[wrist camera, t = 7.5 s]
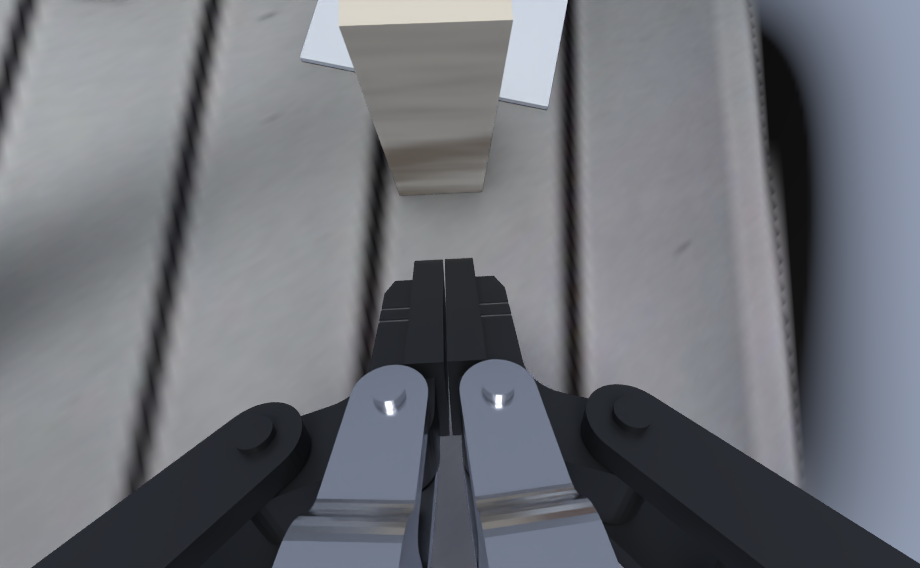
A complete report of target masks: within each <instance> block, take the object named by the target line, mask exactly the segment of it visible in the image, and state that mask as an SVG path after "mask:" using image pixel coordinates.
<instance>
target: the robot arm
mask: <svg viewBox="0 0 920 568" xmlns="http://www.w3.org/2000/svg"><path fill="white" fill-rule="evenodd" d="M445 283H446V300H445V285H444V271H443V260H423V261H415V262H414V272H413V280H405V281H395V282H394V283H393V284H392V286H391V287H390V288H389V289H388V290H387V291H386V293H385V295H384V300H383V305H382V311H381V315H380V319H379V321H380V323H379V324H378V329H377V334H376V339H375V344H374V349H373V354H372V359H371V364H370V369H369V373H368V374H366V375H365V376H364V377H362V378H361V379H360V380H359V381H358V382H357V384H356V385H355V387H354V388H353V390H352V393H351V395H350V397H348V398H347V399H345V400H343V401H341V402H340V403H337V404H335V405H332V406H330V407H327V408H324V409H321V410H318V411H315V412H312V413H309V414H306V415H303V416H300V414H299V412H298V411H297V410H296V409H295V408H294V407H292V406H290V405H288V404H285V403H279V402H271V403H264V404H261V405H257V406H255V407H252V408H250V409H248V410H246V411H244V412H242V413H240V414H239V415H237V416H236V417H234V418H233V419H232V420H230V421H229V422H228V423H226V424H225V425H224V426H222V427H221V428H220V429H218V430H217V431H215V432H214V433H213V434H211V435H210V436H209V437H207V438H206V439H205V440H203V441H202V442H201V443H199V444H198V445H197V446H195V447H194V448H192V449H191V450H190V451H188V452H187V453H186V454H184V455H183V456H182V457H180V458H179V459H178V460H176V461H175V462H174V463H172V464H171V465H169V466H168V467H167V468H165V469H164V470H163V471H161V472H160V473H159V474H157V475H156V476H155V477H153V478H152V479H151V480H149V481H148V482H146V483H145V484H144V485H142V486H141V487H140V488H138V489H137V490H136V491H134V492H133V493H132V494H130V495H129V496H128V497H126V498H125V499H123V500H122V501H121V502H119V503H118V504H117V505H115V506H114V507H113V508H111V509H110V510H109V511H107V512H106V513H105V514H103V515H102V516H100V517H99V518H98V519H96V520H95V521H94V522H92V523H91V524H90V525H88V526H87V527H86V528H84V529H83V530H82V531H80V532H79V533H77V534H76V535H75V536H73V537H72V538H71V539H69V540H68V541H67V542H65V543H64V544H63V545H61V546H60V547H59V548H57V549H56V550H55V551H53V552H52V553H50V554H49V555H48V556H46V557H45V558H44V559H42V560H41V561H40V562H38V563H37V564H36V565H34V566H33V567H32V568H431V560H432V547H433V534H434V521H435V508H436V495H437V483H438V467H439V461H440V436H450V432H449V391H450V405H451V419H452V433H453V435H461V436H462V454H463V473H464V481H465V489H466V496H467V504H468V512H469V520H470V527H471V535H472V543H473V550H474V558H475V566H476V568H620V566H619V563H620V564H621V565H622V566H623V567H624V568H920V564H919V563H918V562H916V561H914V560H913V559H911V558H909V557H908V556H906V555H905V554H903V553H902V552H900V551H898V550H897V549H895V548H894V547H892V546H891V545H889V544H887V543H886V542H884V541H883V540H881V539H879V538H878V537H876V536H875V535H873V534H871V533H870V532H868V531H867V530H865V529H864V528H862V527H860V526H859V525H857V524H855V523H854V522H852V521H851V520H849V519H847V518H846V517H844V516H843V515H841V514H840V513H838V512H836V511H835V510H833V509H832V508H830V507H829V506H826V505H825V504H824V503H822V502H821V501H819V500H817V499H816V498H814V497H813V496H811V495H809V494H808V493H806V492H805V491H803V490H801V489H800V488H798V487H797V486H795V485H794V484H792V483H790V482H789V481H787V480H786V479H784V478H782V477H781V476H779V475H778V474H776V473H774V472H773V471H771V470H770V469H768V468H766V467H765V466H763V465H762V464H760V463H759V462H757V461H755V460H754V459H752V458H751V457H749V456H747V455H746V454H744V453H743V452H741V451H739V450H738V449H736V448H735V447H733V446H731V445H730V444H728V443H727V442H725V441H724V440H722V439H720V438H719V437H717V436H716V435H714V434H712V433H711V432H709V431H708V430H706V429H704V428H703V427H701V426H700V425H698V424H696V423H695V422H693V421H692V420H690V419H688V418H687V417H685V416H684V415H682V414H681V413H679V412H677V411H676V410H674V409H673V408H671V407H669V406H668V405H666V404H665V403H663V402H661V401H660V400H658V399H657V398H655V397H653V396H652V395H650V394H648V393H647V392H645V391H643V390H640V389H638V388H635V387H632V386H627V385H619V384H614V385H607V386H603V387H601V388H599V389H597V390H596V391H594V392H593V393H592V394H591V395H590V397H589V399H588V398H584V397H579V396H575V395H570V394H565V393H561V392H558V391H554V390H552V389H549V388H547V387H545V386H544V385H542V384H540V383H539V382H538V381H536V380H535V379H534V378H533V377H532V376H531V374H530V373H529V372H528V371H527V369H526V368H525V366H524V363H523V360H522V356H521V352H520V348H519V344H518V339H517V335H516V331H515V327H514V323H513V319H512V316H511V311H510V307H509V304H508V299H507V295H506V291H505V287H504V286H503V285H502V284H501V283H500V282H499V281H498V280H497V279H496V278H495V277H494V276H482V277H475V271H474V264H473V258H462V259H445ZM448 377H449V391H448Z"/></svg>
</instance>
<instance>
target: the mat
mask: <svg viewBox="0 0 920 568" xmlns="http://www.w3.org/2000/svg"><path fill="white" fill-rule="evenodd" d="M511 1H512V12H513V24H512V30H511V35H510V41H509V46H508V52H507V57H506V63H505V68H504V74H503V79H502V85H501V90H500V96H499V100H501V101H506V102H511V103H516V104H521V105H526V106H531V107H536V108H541V109H546V110H547V108H548V103H549V98H550V93H551V87H552V82H553V76H554V71H555V66H556V60H557V55H558V50H559V44H560V39H561V33H562V28H563V23H564V17H565V12H566V7H567V1H568V0H511ZM300 58H301V60H302V61H304V62H309V63H314V64H319V65H324V66H329V67H334V68H339V69H345V70H350V71H355V70H354V67H353V64H352V62H351V59H350V56H349V53H348V51H347V48H346V45H345V42H344V40H343V37H342V34H341V31H340V28H339V0H318V3H317V6H316V9H315V12H314V15H313V18H312V22H311V25H310V28H309V31H308V34H307V37H306V40H305V43H304V47H303V50H302V53H301V56H300Z"/></svg>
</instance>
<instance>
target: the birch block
mask: <svg viewBox="0 0 920 568" xmlns="http://www.w3.org/2000/svg"><path fill="white" fill-rule="evenodd" d="M512 24H513V12H512V1H511V0H339V28H340V31H341V34H342V37H343V40H344V42H345V45H346V48H347V51H348V53H349V56H350V59H351V62H352V64H353V67H354V70H355V73H356V76H357V78H358V81H359V84H360V87H361V89H362V92H363V95H364V98H365V100H366V103H367V106H368V109H369V112H370V114H371V117H372V120H373V123H374V125H375V128H376V131H377V134H378V137H379V139H380V142H381V145H382V148H383V150H384V153H385V156H386V159H387V161H388V164H389V167H390V170H391V173H392V175H393V178H394V181H395V184H396V186H397V189H398V192H399V195H400V196H403V195H425V194H446V193H467V192H482V190H483V184H484V179H485V173H486V168H487V162H488V157H489V151H490V146H491V140H492V135H493V129H494V123H495V118H496V112H497V107H498V101H499V96H500V90H501V85H502V79H503V74H504V68H505V63H506V57H507V52H508V46H509V41H510V35H511V30H512Z"/></svg>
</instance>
